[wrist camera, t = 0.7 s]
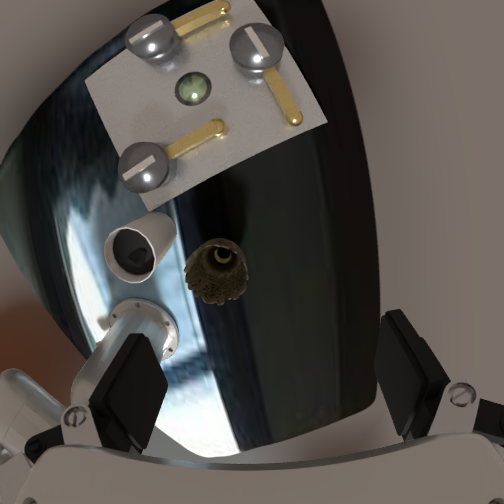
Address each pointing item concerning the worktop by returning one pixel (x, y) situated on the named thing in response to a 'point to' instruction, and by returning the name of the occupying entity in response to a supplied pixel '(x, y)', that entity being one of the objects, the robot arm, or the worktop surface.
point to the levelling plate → (199, 102)
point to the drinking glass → (139, 246)
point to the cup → (217, 272)
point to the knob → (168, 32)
